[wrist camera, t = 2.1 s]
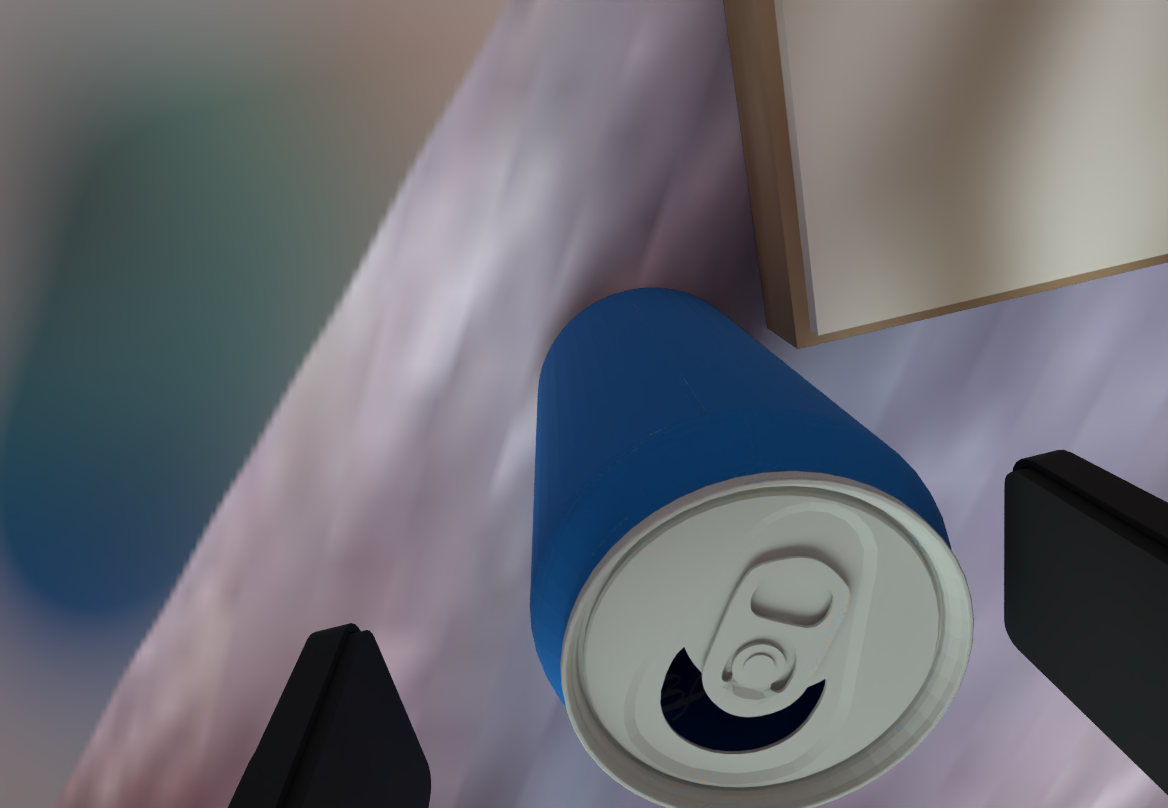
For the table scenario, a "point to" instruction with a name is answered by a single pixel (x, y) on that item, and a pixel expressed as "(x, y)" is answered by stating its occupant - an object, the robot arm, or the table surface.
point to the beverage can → (731, 567)
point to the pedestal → (946, 152)
